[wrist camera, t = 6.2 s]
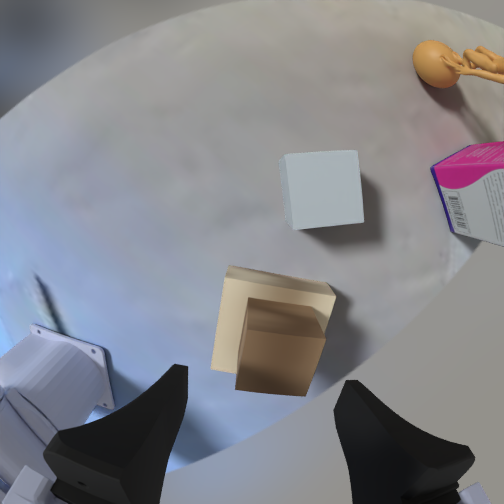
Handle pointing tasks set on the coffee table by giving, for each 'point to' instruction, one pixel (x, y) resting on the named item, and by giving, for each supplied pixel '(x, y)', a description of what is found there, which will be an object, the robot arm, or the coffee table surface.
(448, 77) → the figurine
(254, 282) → the beech slab
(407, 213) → the coffee table surface
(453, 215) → the supplement box
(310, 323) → the walnut cube
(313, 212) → the grey cube
